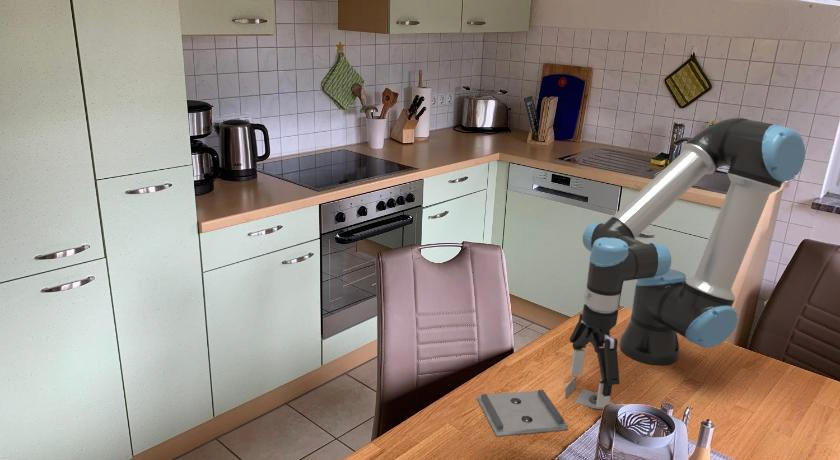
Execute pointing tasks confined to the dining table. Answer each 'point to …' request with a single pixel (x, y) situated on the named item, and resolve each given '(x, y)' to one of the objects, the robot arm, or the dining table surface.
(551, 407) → the mount plate
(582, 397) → the bracket
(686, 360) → the dining table surface
